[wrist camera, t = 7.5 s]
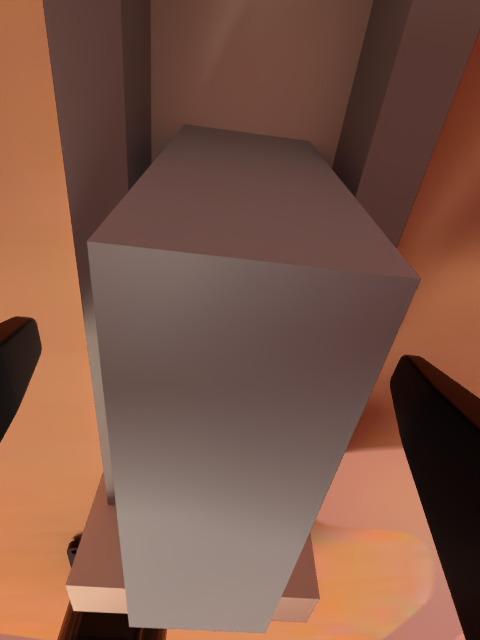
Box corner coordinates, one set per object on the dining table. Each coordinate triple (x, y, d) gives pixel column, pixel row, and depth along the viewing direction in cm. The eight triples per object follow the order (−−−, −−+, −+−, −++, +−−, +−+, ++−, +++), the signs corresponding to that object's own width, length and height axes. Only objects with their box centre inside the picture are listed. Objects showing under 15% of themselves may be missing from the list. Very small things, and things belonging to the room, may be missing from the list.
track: (288, 470, 18) (306, 622, 13) (119, 457, 18) (73, 611, 13) (495, -168, 7) (1058, -664, 2) (58, -255, 7) (-469, -1152, 2)
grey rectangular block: (256, 401, 14) (267, 633, 9) (173, 394, 14) (127, 626, 8) (311, 141, 9) (425, 279, 4) (182, 123, 9) (81, 240, 3)
